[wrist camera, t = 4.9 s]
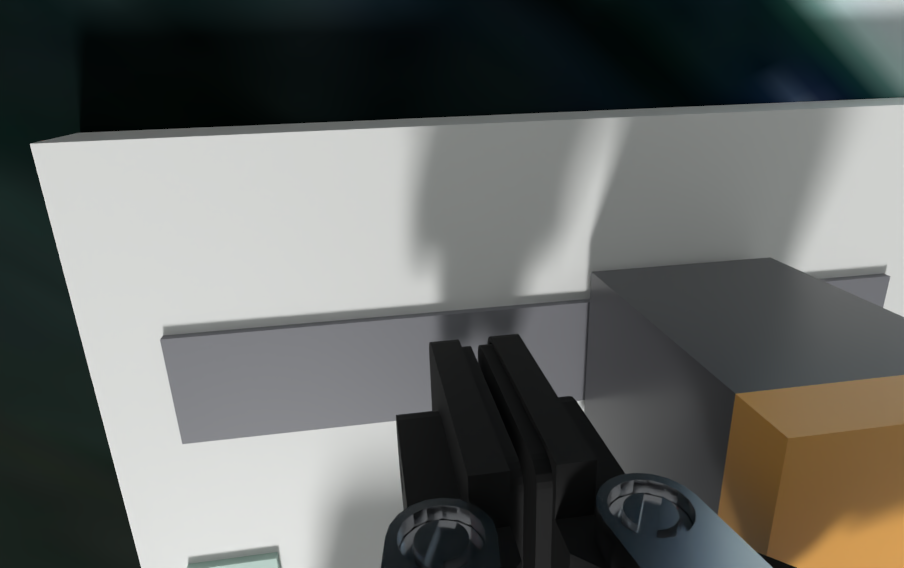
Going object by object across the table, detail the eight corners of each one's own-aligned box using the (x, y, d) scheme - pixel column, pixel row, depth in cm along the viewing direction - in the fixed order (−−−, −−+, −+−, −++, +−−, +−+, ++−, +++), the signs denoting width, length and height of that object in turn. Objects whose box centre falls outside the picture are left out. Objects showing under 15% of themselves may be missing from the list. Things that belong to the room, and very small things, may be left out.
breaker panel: (939, 95, 15) (1032, 99, 13) (804, 675, 22) (851, 738, 20) (79, 132, 12) (23, 144, 10) (230, 779, 19) (215, 864, 17)
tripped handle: (770, 257, 13) (1090, 400, 7) (745, 419, 14) (999, 644, 9) (591, 271, 12) (788, 438, 7) (582, 438, 14) (741, 692, 8)
